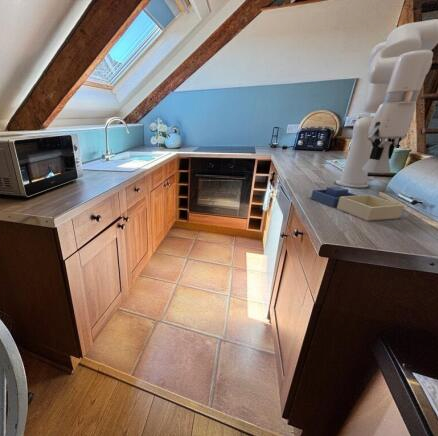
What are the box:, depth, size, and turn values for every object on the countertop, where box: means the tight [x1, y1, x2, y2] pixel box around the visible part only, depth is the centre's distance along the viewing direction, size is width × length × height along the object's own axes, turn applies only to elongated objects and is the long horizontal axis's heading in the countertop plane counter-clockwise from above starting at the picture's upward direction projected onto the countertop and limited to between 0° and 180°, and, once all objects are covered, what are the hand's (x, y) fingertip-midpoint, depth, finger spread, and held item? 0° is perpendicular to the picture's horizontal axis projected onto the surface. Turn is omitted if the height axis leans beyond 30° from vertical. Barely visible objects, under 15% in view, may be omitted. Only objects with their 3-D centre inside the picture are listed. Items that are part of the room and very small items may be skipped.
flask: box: [362, 140, 392, 174], centre depth 82 cm, size 7×7×10 cm
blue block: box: [325, 186, 349, 198], centre depth 97 cm, size 5×5×5 cm
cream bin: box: [336, 194, 405, 221], centre depth 86 cm, size 12×12×5 cm
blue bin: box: [310, 188, 359, 208], centre depth 98 cm, size 11×11×4 cm
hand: (379, 158), depth 82 cm, fingers closed on flask, 3 cm apart
